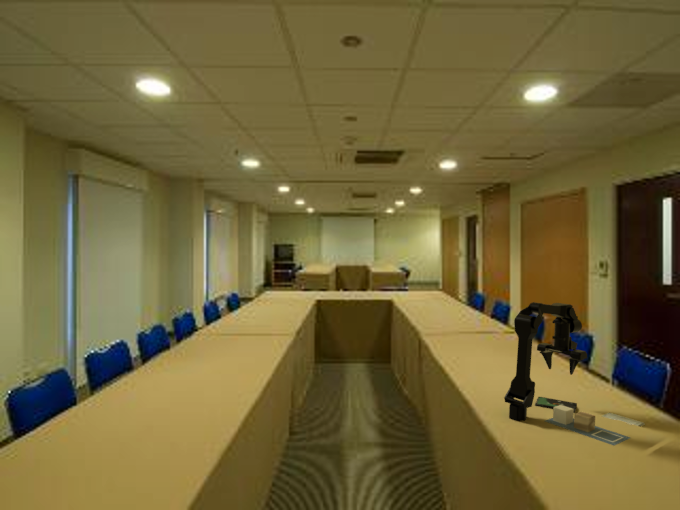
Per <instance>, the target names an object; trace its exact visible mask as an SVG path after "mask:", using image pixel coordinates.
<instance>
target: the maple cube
mask: <svg viewBox="0 0 680 510" xmlns="http://www.w3.org/2000/svg"><path fill="white" fill-rule="evenodd" d="M573 419H574V428H576V429H579V430H582V431H585V432H590V431H592V430H595V426H596V415H595V414H592V413H589V412H586V411H582V410H581V411H578V412H575V413H573Z"/></svg>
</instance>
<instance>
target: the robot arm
mask: <svg viewBox="0 0 680 510" xmlns="http://www.w3.org/2000/svg"><path fill="white" fill-rule="evenodd" d="M533 313H534V314H537V316H534V315H532V314H533ZM545 314H549V315H551V316H553V317H555V319H553V320H552V321H551V323H552V324H554V334H553V335H552V337H551V338H552V339H553V344H551V343H547V342H543V343H538V344H537V346H536V351H539V354H541V355H542V358H543V359H544V361H545V363H546V365H547V368H548V369H549V370H551V369H552V364H553V363H552V361H553V359H552V358H553V354H554V353H559V354H562V355H569V359H568V360H569V374H570V375H573V374H574V372H575V369H576V367H577V365H578V364H579V362H581V361H583V360H585V359H588V353H587V351H586V350H582V349H577V346H578V342H576V341H574V340H573V339H572V336H571V334H572V333H573V334H574V333H576V332H577V333H578V332H581V330H582V329H583V324H582V322H581V320H580V319H579V318H578V317H579V316H577V313H576V311H575V309H574V307H573V305H572V304H570V303H569V304H568V303H561V302H554V303H551V304H546V303H542V302H535V301H533V302H530V303H529V304H528V306H526V307H525V308H523V309H522V310H520V311H518V313H517V315H515V318H514V320H513V321H514V322H513V323H514V326H513V327H514V332H515V334H516V336H517V337H518V341H517V355H516V356H517V357H516V370H515V371H516V372H515V376H514V377H513V378H512V380H511V382H510V387H509V389H508V390H507V392H506V394H505V396H504V397H503V398H504V403H508V404H509V408H508V409H509V410H508V411H509V413H508V418H509V419H510V420H512V421H515V422H524V421H526V420H527V417H528V416H527V413H528V412H527V411H528V409H529V408H532V407H533V402H534V398H535V393H536V391H535V388H536V383H535V381H533V380H532V379H531V365H532V364H531V363H532V350H533V339H534V338H535V337H536V336H537V334H538V331H539V328H540V326H541V324H542V323H543V321H544V319H543V315H545Z"/></svg>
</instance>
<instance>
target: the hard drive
mask: <svg viewBox="0 0 680 510" xmlns="http://www.w3.org/2000/svg"><path fill="white" fill-rule="evenodd" d="M601 417H603V418H606V419H610V420H615V421H620V422H623V423H626V424H627V425H630V426H632V425H633V426H637V427H641V426H642V427H643V425H644V426H645V424H646V423H645V422H643V421H640V420H636V419H633V418H631V417H630V418H629V417H626V416H623V415H619V414H616V413H612V412H607V413H605V414H603V415H601ZM642 427H641V428H642Z"/></svg>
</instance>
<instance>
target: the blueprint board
mask: <svg viewBox="0 0 680 510" xmlns="http://www.w3.org/2000/svg"><path fill="white" fill-rule="evenodd" d="M544 422H546V423H549V424H551V425H554V426H556V427H560V428H562V429H566V430H569V431H571V432H574V433H577V434H580V435H583V436H585V437H588V438H590V439H594V440H597V441H599V442H603V443H606V444H608V445H611V446H613V447H614V446H616V445H620V444H621V443H623V442H625V441H627V440H629V439H631V438H632V437H630V436H628V435H624V434H621V433H618V432H615V431H613V430H608V429H606V428H603V427H600V426H596V425H595V430H592V431H590V432H585V431H582V430H579V429H576V428H574V418H573V422H572V423H569V424H567V425H565V424H562V423H559V422H556V421H553V417H551V418H549V419H545V420H544Z"/></svg>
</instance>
